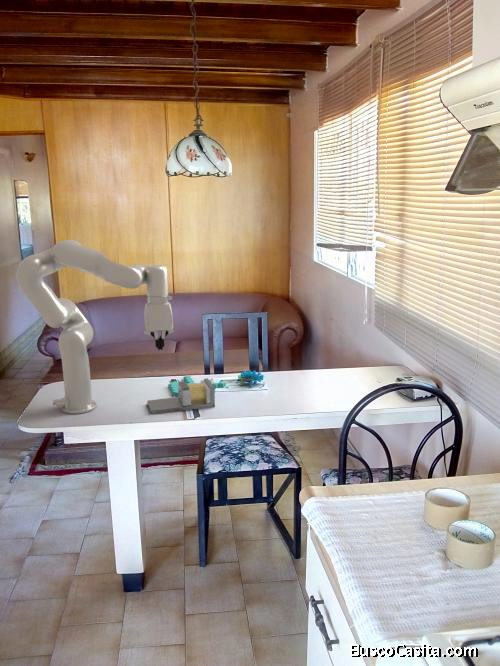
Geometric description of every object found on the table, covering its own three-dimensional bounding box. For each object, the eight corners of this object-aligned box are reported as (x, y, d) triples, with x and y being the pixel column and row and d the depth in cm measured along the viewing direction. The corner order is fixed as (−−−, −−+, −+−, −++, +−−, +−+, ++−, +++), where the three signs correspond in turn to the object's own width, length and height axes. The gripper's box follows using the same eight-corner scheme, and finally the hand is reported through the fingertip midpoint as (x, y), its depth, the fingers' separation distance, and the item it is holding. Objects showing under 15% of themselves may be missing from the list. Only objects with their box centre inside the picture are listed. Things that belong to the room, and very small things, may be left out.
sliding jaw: (183, 406, 208) (182, 389, 206) (178, 397, 217) (177, 380, 216) (191, 405, 209) (190, 388, 207) (185, 396, 218) (185, 380, 217)
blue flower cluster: (267, 379, 238) (260, 368, 230) (265, 391, 235) (258, 381, 227) (242, 380, 242) (235, 369, 234) (241, 392, 239) (233, 381, 231)
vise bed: (151, 414, 204) (150, 393, 203) (147, 404, 215) (146, 384, 213) (214, 407, 211) (214, 387, 210) (208, 397, 222) (207, 378, 220)
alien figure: (186, 380, 244) (158, 394, 227) (186, 375, 244) (158, 389, 226) (225, 387, 235) (200, 402, 218) (225, 382, 235) (200, 396, 217)
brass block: (189, 402, 212) (189, 387, 210) (187, 399, 216) (186, 384, 214) (204, 401, 214) (204, 386, 212) (202, 397, 217) (202, 382, 216)
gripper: (176, 297, 207) (178, 344, 211) (135, 299, 202) (138, 348, 207) (180, 300, 200) (181, 349, 204) (138, 303, 196) (140, 353, 200)
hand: (160, 348), depth 206 cm, fingers closed
